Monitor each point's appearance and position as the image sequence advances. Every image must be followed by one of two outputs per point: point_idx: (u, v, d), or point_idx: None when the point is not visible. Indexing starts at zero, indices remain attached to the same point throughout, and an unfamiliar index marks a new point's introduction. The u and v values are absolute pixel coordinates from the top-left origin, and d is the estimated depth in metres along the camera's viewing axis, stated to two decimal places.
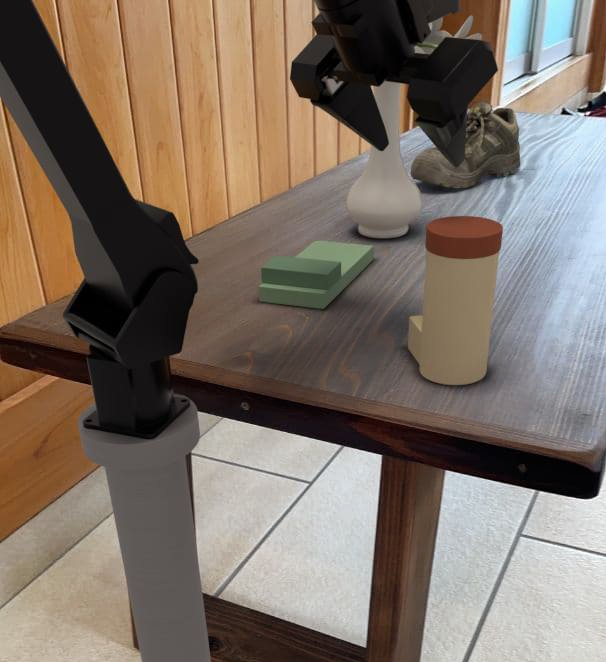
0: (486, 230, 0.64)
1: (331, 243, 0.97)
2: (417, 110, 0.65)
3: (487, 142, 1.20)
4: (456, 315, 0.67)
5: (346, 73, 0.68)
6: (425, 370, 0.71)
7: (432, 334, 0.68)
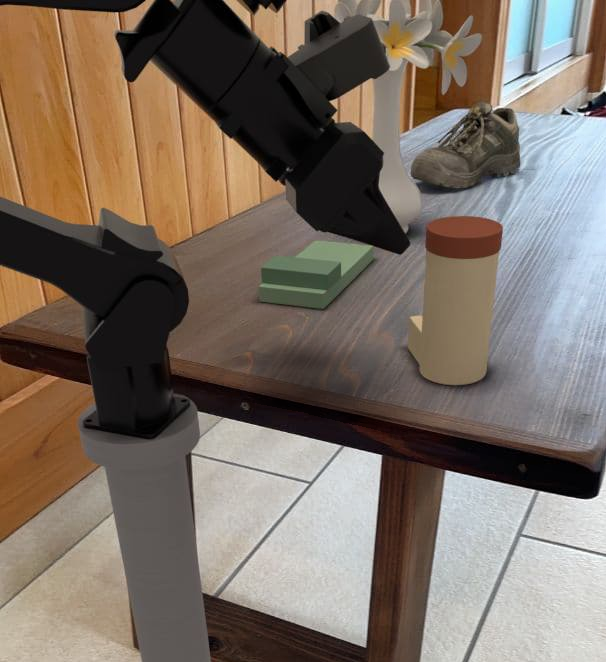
0: (486, 230, 0.64)
1: (331, 243, 0.97)
2: None
3: (487, 142, 1.20)
4: (456, 315, 0.67)
5: None
6: (425, 370, 0.71)
7: (432, 334, 0.68)
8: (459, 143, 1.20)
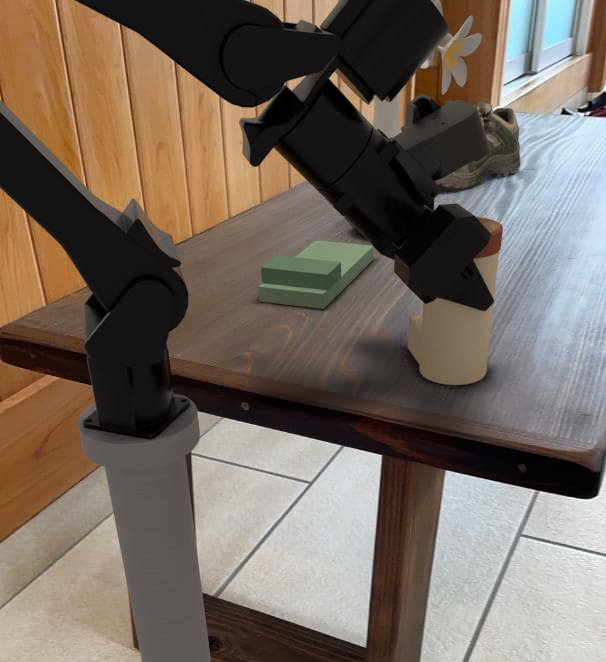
0: None
1: (331, 243, 0.97)
2: None
3: None
4: (456, 315, 0.67)
5: None
6: (425, 370, 0.71)
7: (432, 334, 0.68)
8: None
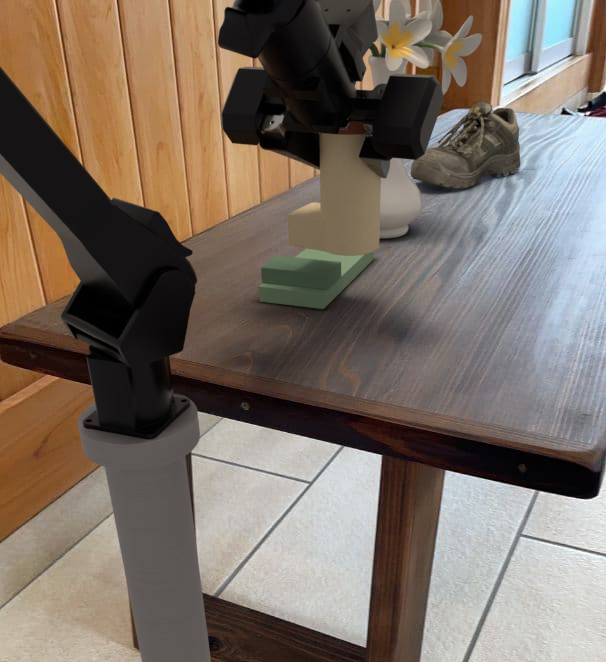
0: None
1: None
2: (382, 152, 0.69)
3: (487, 142, 1.20)
4: (370, 186, 0.76)
5: (298, 125, 0.70)
6: (344, 248, 0.79)
7: (350, 210, 0.77)
8: (459, 143, 1.20)
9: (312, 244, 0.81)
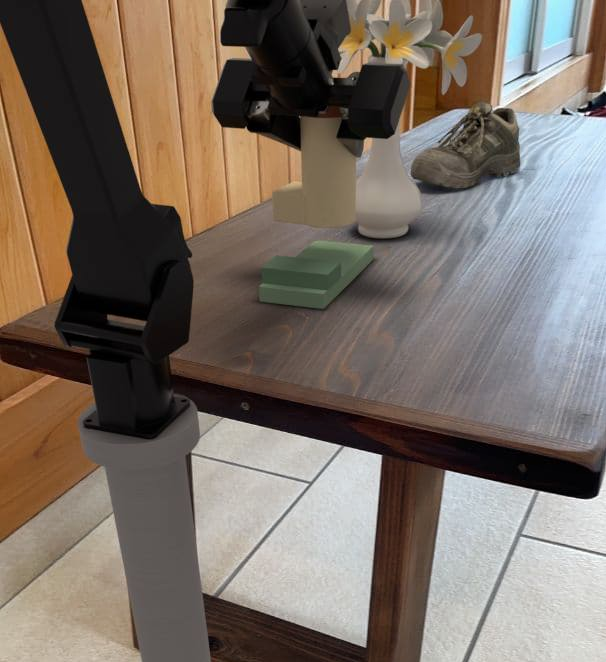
0: None
1: (331, 243, 0.97)
2: (357, 132, 0.78)
3: (487, 142, 1.20)
4: (346, 164, 0.85)
5: (282, 109, 0.78)
6: (324, 221, 0.88)
7: (329, 187, 0.86)
8: (459, 143, 1.20)
9: (295, 218, 0.90)
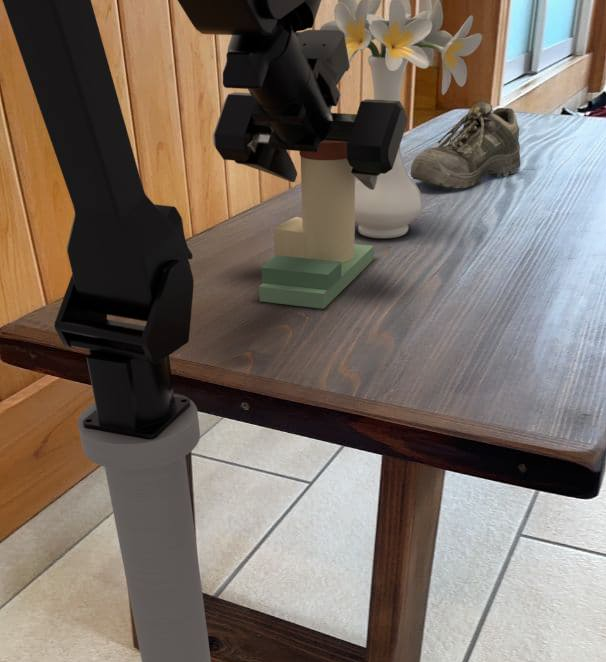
0: None
1: None
2: (355, 167, 0.80)
3: (487, 142, 1.20)
4: (345, 204, 0.88)
5: (282, 144, 0.80)
6: (323, 257, 0.90)
7: (329, 225, 0.88)
8: (459, 143, 1.20)
9: (295, 254, 0.92)
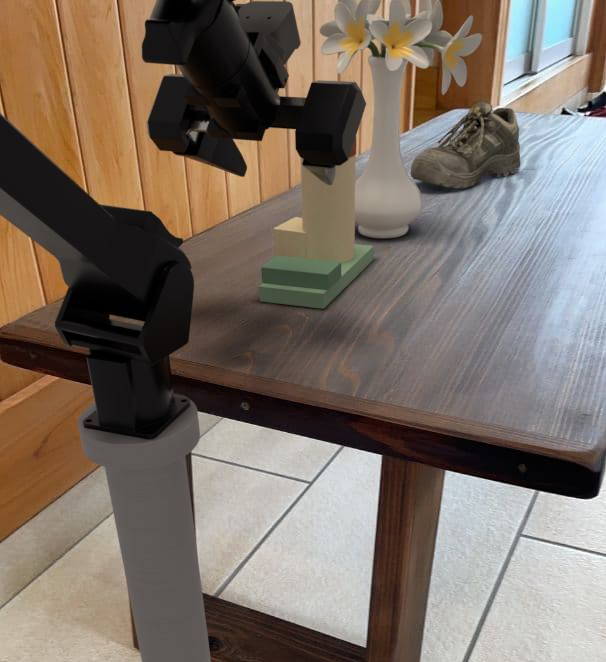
0: None
1: None
2: (306, 158, 0.69)
3: (487, 142, 1.20)
4: (345, 204, 0.88)
5: (222, 132, 0.70)
6: (323, 257, 0.90)
7: (329, 225, 0.88)
8: (459, 143, 1.20)
9: (295, 254, 0.92)
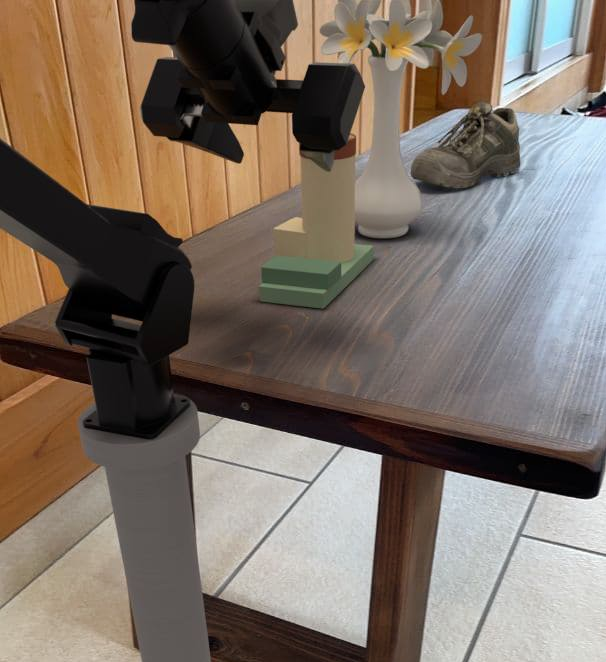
0: None
1: None
2: (303, 142, 0.67)
3: (488, 142, 1.20)
4: (345, 203, 0.88)
5: (217, 116, 0.68)
6: (323, 257, 0.90)
7: (328, 225, 0.88)
8: (459, 143, 1.20)
9: (295, 254, 0.92)
